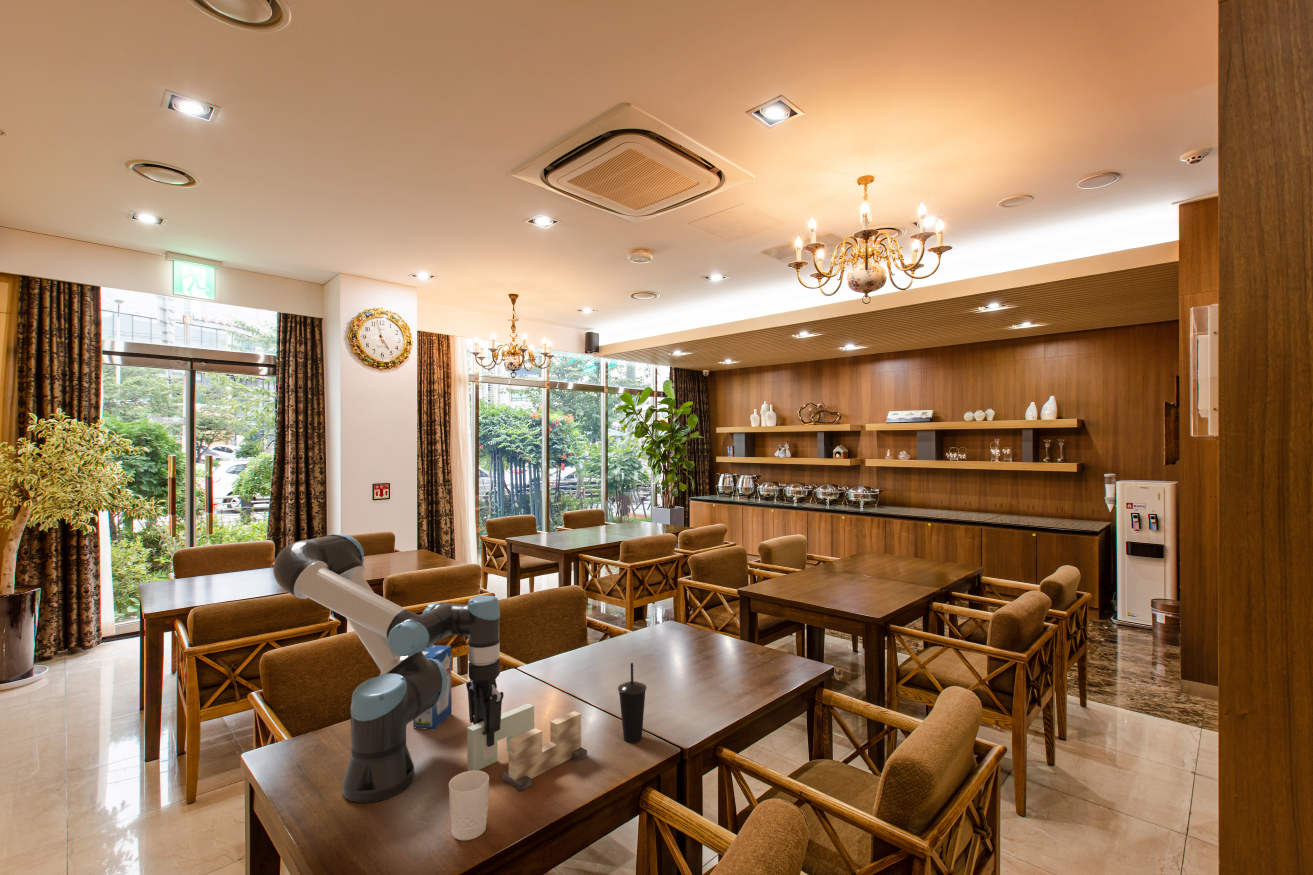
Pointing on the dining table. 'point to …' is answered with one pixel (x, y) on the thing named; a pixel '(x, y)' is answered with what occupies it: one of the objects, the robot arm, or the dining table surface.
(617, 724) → the dining table surface
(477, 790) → the white cup
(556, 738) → the maple board
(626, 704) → the drinking cup
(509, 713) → the sage board
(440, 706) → the milk carton
